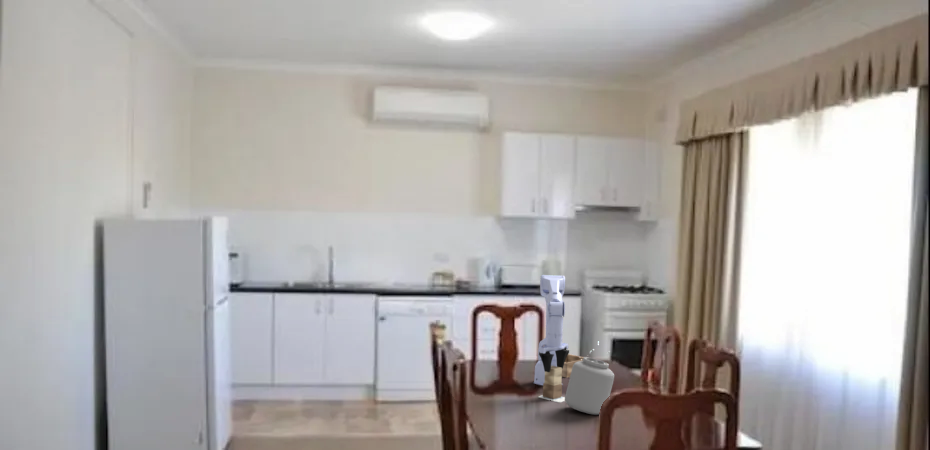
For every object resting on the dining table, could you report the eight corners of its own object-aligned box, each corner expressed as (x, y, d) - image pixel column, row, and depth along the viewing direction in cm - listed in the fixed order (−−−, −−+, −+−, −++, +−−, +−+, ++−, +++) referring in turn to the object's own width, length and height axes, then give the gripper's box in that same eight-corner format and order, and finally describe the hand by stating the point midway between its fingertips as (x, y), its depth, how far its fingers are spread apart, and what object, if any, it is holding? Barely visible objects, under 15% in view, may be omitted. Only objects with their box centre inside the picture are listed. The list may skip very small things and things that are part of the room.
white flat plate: (537, 397, 279) (537, 396, 279) (549, 394, 284) (549, 393, 284) (559, 402, 272) (559, 401, 272) (570, 399, 277) (570, 398, 277)
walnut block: (542, 396, 279) (543, 383, 278) (551, 394, 282) (551, 381, 282) (553, 399, 275) (553, 385, 275) (561, 397, 279) (562, 383, 278)
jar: (611, 406, 269) (614, 337, 268) (623, 418, 255) (626, 345, 254) (560, 406, 268) (562, 336, 267) (569, 418, 253) (572, 345, 252)
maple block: (544, 383, 278) (544, 367, 278) (551, 381, 282) (552, 365, 281) (554, 385, 275) (554, 369, 275) (561, 383, 278) (562, 367, 278)
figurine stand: (544, 372, 320) (544, 358, 319) (567, 367, 331) (567, 353, 331) (566, 377, 311) (567, 363, 311) (589, 372, 322) (589, 358, 322)
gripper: (551, 337, 270) (549, 375, 270) (575, 333, 280) (574, 369, 281) (536, 334, 275) (534, 371, 275) (560, 330, 285) (559, 365, 286)
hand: (553, 370), depth 278 cm, fingers open, 7 cm apart
